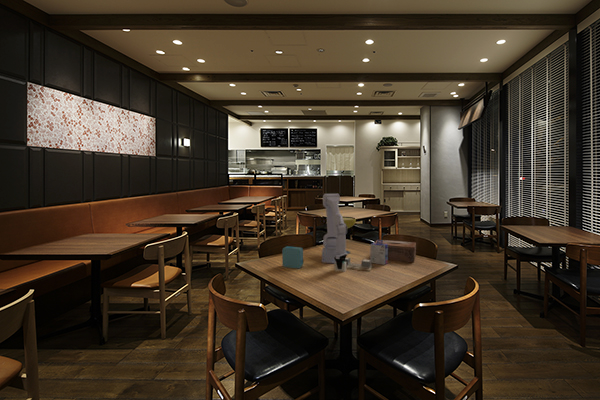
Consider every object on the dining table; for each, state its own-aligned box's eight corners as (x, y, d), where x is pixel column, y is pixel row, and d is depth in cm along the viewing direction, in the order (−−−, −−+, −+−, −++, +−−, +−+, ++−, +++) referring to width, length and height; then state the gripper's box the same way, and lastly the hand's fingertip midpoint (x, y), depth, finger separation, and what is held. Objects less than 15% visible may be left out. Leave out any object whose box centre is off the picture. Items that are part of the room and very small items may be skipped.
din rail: (339, 265, 187) (339, 264, 187) (341, 262, 192) (341, 261, 192) (370, 268, 180) (370, 267, 180) (372, 266, 185) (372, 265, 185)
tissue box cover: (415, 257, 208) (415, 242, 208) (414, 262, 195) (414, 247, 194) (377, 253, 219) (377, 239, 218) (373, 258, 206) (373, 243, 205)
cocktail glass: (328, 255, 214) (328, 219, 212) (331, 248, 232) (331, 216, 229) (354, 256, 210) (355, 220, 208) (355, 250, 228) (356, 216, 225)
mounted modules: (340, 264, 187) (340, 259, 187) (342, 261, 192) (342, 256, 191) (369, 267, 180) (369, 262, 180) (371, 264, 185) (371, 259, 185)
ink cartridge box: (388, 263, 194) (388, 240, 193) (385, 265, 189) (385, 242, 188) (373, 260, 200) (373, 238, 198) (369, 262, 195) (370, 240, 194)
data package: (303, 266, 188) (303, 247, 187) (300, 268, 184) (300, 249, 182) (285, 264, 192) (285, 246, 191) (282, 266, 188) (282, 247, 187)
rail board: (338, 267, 186) (338, 265, 186) (342, 263, 194) (342, 261, 194) (370, 271, 178) (370, 269, 178) (372, 266, 187) (372, 265, 187)
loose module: (334, 270, 180) (334, 262, 179) (336, 268, 183) (336, 260, 183) (344, 271, 178) (344, 263, 177) (346, 269, 181) (346, 261, 181)
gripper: (344, 248, 171) (344, 272, 172) (350, 243, 184) (350, 265, 186) (332, 247, 174) (332, 270, 175) (338, 242, 187) (338, 263, 188)
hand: (340, 267), depth 180 cm, fingers closed on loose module, 4 cm apart
